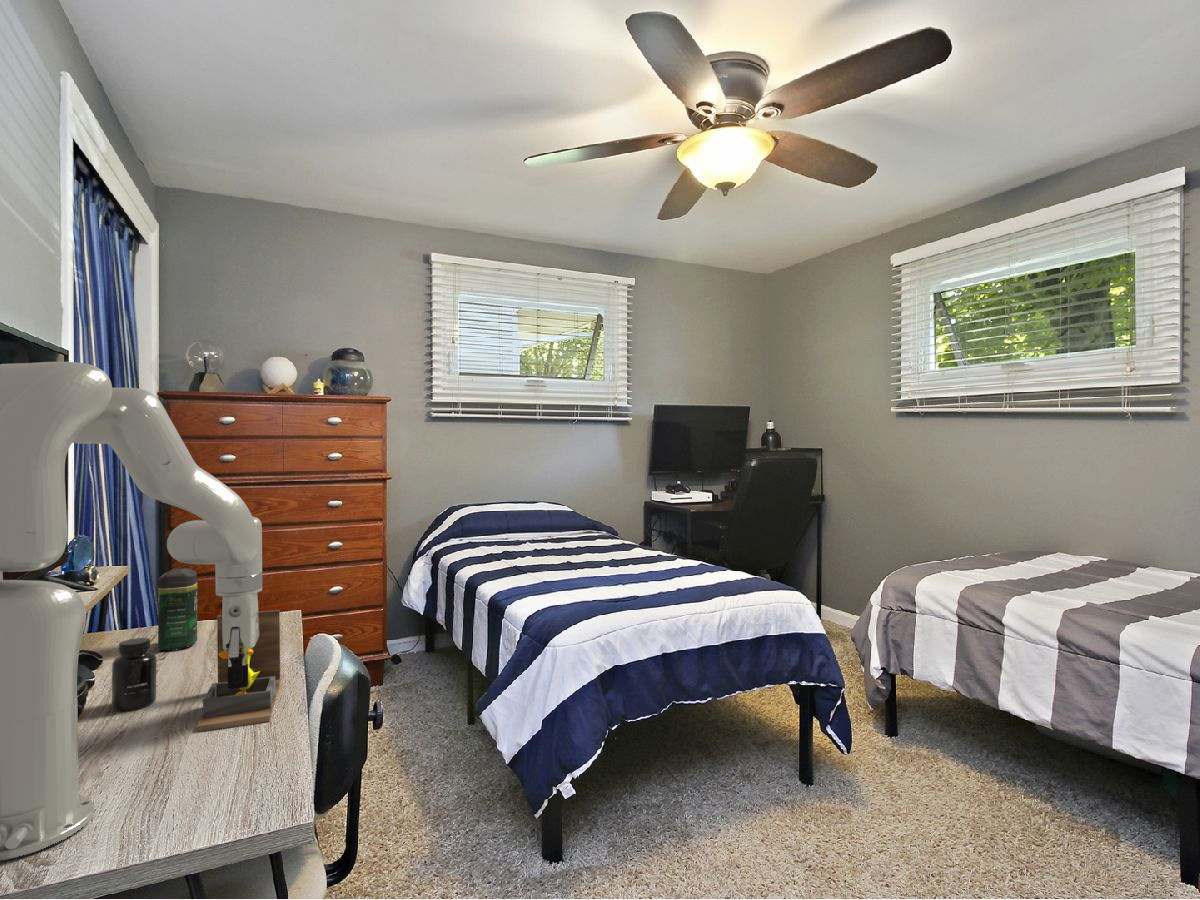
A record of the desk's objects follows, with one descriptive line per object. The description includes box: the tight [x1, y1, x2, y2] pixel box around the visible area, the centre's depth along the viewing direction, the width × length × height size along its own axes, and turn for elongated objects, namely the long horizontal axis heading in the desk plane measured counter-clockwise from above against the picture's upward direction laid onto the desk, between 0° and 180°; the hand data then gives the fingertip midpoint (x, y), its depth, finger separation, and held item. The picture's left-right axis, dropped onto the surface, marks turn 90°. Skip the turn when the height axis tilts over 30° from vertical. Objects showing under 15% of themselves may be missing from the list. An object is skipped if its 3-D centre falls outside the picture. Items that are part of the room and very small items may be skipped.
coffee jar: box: [157, 567, 198, 651], centre depth 157 cm, size 10×8×19 cm
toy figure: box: [217, 644, 260, 694], centre depth 119 cm, size 7×4×12 cm, turn 112°
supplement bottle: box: [111, 637, 157, 712], centre depth 121 cm, size 7×7×12 cm
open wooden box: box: [196, 609, 281, 733], centre depth 121 cm, size 20×11×15 cm, turn 21°
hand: (240, 682), depth 119 cm, fingers closed on toy figure, 3 cm apart
